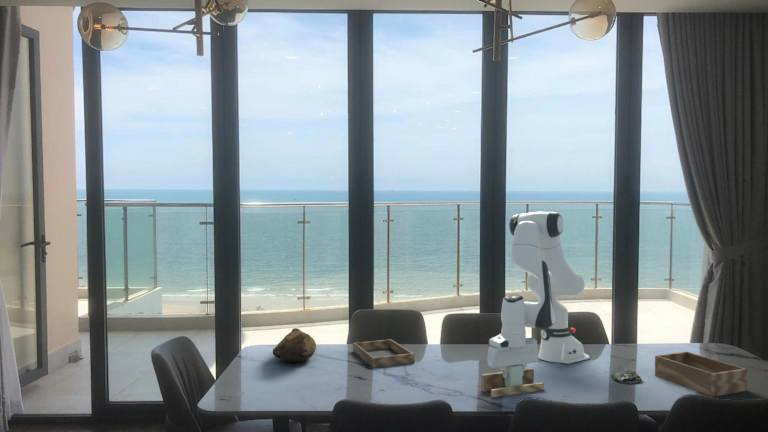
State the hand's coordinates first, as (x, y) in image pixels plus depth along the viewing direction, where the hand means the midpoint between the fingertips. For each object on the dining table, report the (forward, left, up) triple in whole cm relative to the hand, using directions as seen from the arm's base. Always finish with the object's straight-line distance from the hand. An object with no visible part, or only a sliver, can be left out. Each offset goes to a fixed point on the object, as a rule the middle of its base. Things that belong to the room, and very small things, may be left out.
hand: (513, 376), depth 211 cm
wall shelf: (0, 0, -5) cm, 5 cm away
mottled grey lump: (-48, +6, -6) cm, 49 cm away
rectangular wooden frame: (+29, -59, -5) cm, 66 cm away
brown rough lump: (+66, -70, -5) cm, 96 cm away
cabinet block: (0, 0, -4) cm, 4 cm away
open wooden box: (-71, +19, -5) cm, 74 cm away
